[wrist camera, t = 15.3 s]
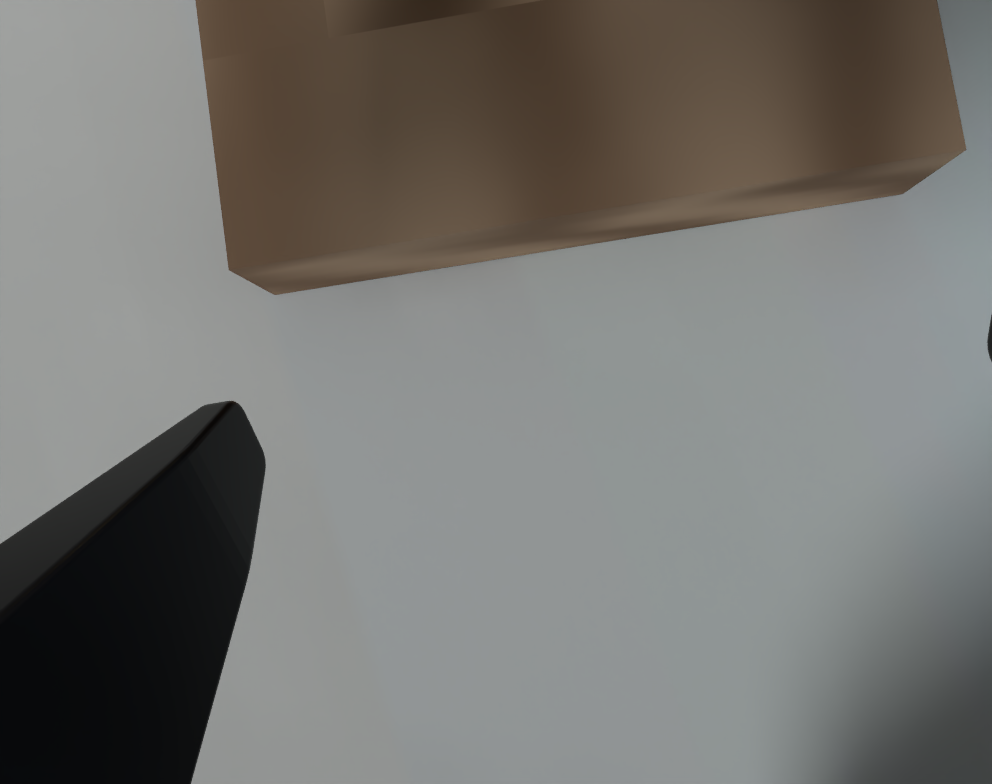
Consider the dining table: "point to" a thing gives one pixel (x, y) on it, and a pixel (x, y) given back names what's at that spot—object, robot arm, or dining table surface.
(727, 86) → the keyhole board
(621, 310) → the dining table surface
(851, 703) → the dining table surface
